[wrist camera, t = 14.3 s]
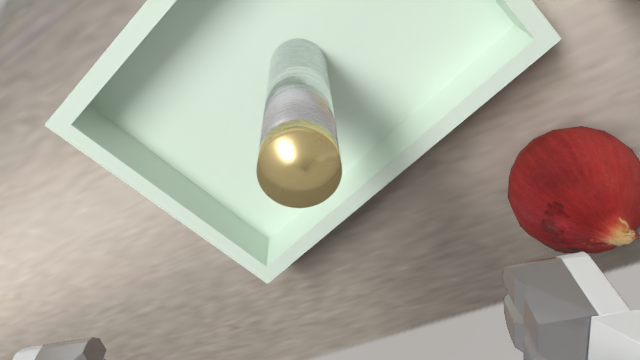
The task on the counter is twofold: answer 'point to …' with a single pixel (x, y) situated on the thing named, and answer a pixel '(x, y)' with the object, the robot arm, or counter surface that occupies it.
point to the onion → (577, 190)
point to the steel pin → (298, 129)
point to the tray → (250, 94)
